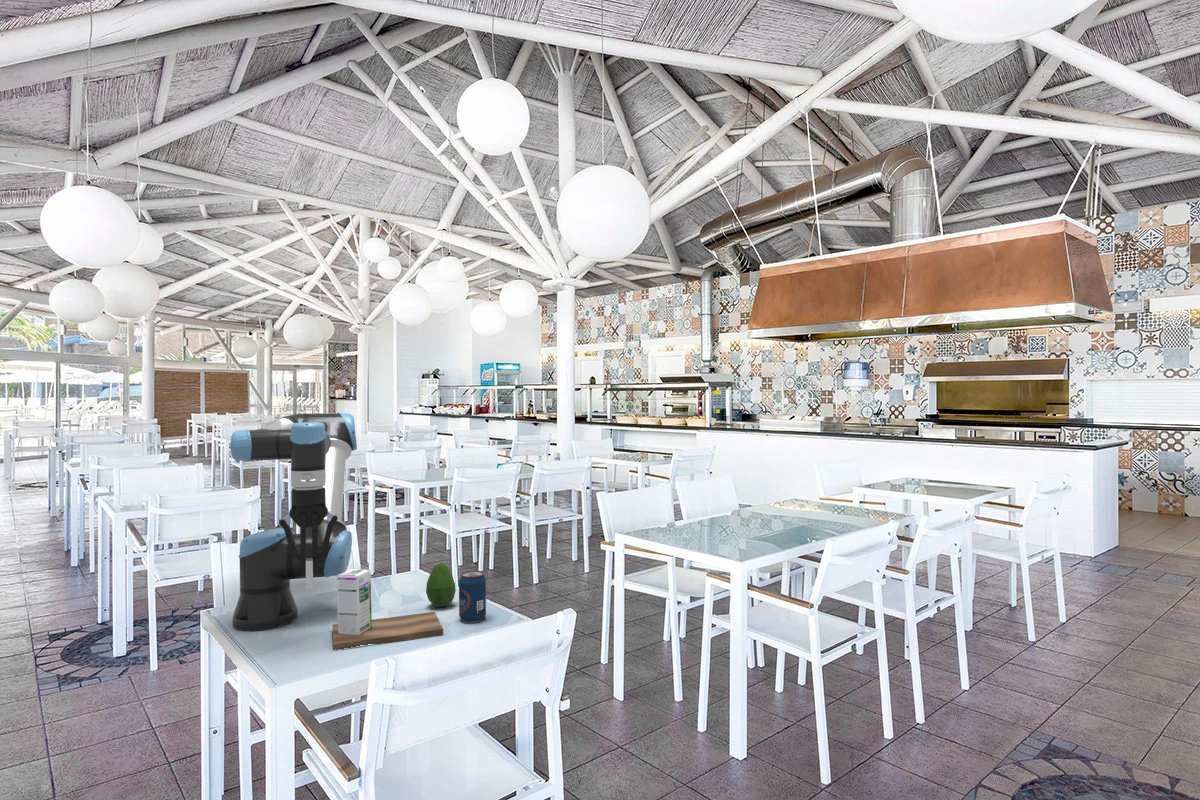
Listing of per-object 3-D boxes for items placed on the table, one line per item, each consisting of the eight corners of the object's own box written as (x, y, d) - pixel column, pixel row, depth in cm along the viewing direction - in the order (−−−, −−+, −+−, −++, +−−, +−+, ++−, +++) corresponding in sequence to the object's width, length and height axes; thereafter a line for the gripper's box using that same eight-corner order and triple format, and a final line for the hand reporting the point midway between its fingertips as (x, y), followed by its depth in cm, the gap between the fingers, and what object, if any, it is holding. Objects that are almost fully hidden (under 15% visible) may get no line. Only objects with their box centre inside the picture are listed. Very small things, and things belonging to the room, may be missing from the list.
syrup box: (359, 636, 158) (358, 575, 158) (337, 634, 159) (336, 574, 159) (372, 627, 164) (371, 569, 163) (350, 626, 165) (350, 567, 165)
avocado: (443, 600, 190) (443, 558, 190) (461, 605, 185) (460, 562, 185) (420, 607, 184) (419, 563, 184) (437, 613, 179) (437, 568, 179)
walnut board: (332, 630, 166) (332, 624, 166) (434, 617, 175) (434, 611, 175) (333, 650, 153) (333, 644, 153) (443, 635, 162) (443, 628, 162)
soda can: (453, 619, 174) (453, 573, 174) (476, 613, 179) (475, 568, 179) (469, 625, 169) (468, 578, 169) (491, 619, 174) (491, 573, 174)
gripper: (277, 491, 151) (278, 594, 151) (338, 488, 156) (339, 588, 156) (279, 487, 158) (280, 586, 158) (337, 484, 163) (338, 579, 163)
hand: (309, 587), depth 157 cm, fingers closed
